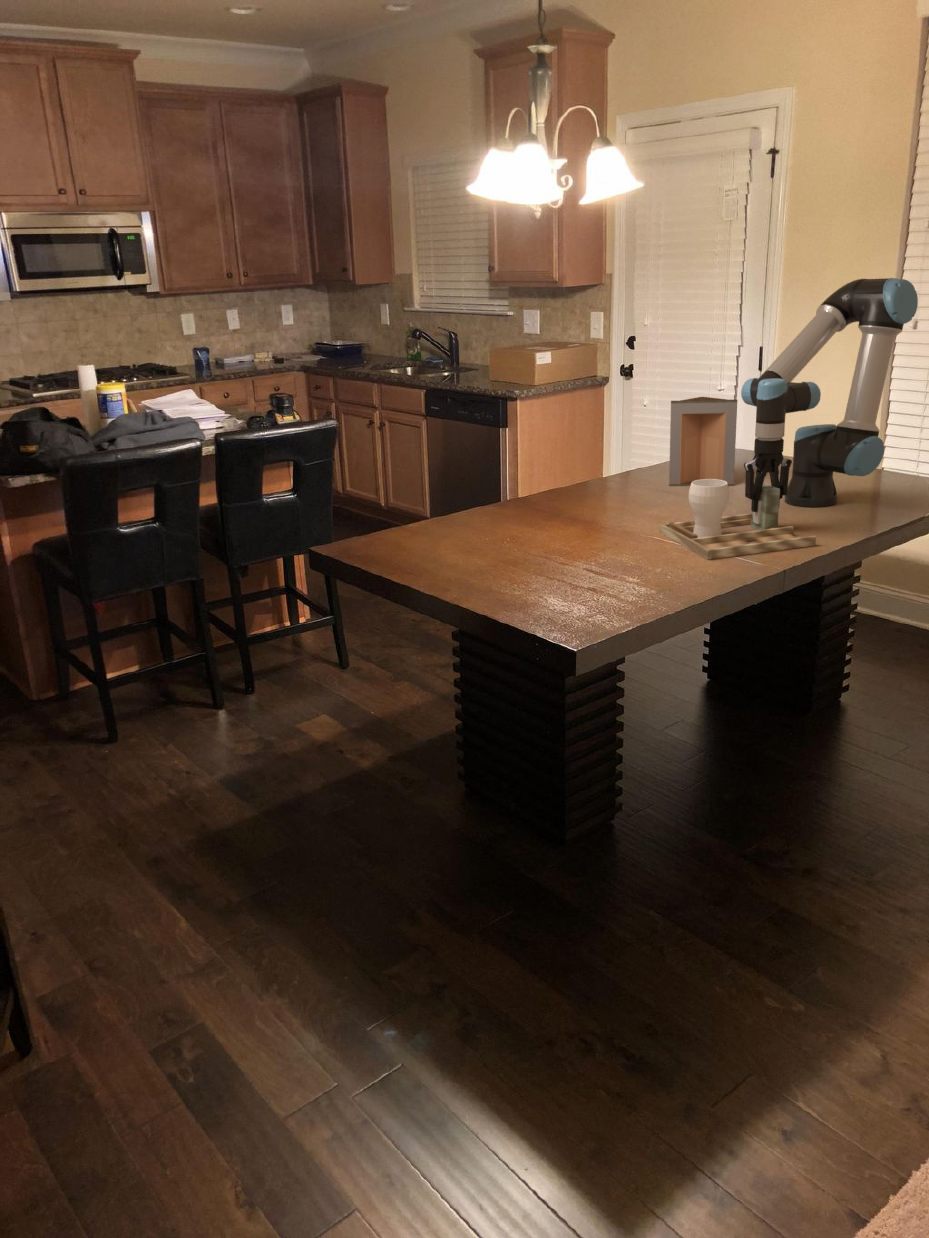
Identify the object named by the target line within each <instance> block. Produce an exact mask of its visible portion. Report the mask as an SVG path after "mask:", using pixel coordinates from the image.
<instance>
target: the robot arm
mask: <svg viewBox="0 0 929 1238" xmlns="http://www.w3.org/2000/svg"><path fill="white" fill-rule="evenodd" d="M918 302H919V298H918V293H917V290H916V288H915V286H914V284H913V283H912V282H911V281H909V280H907V279H904V278H896V277H894V278H893V277H890V278H858V279H855V280H852V281H850V282H847V283H846V284H844V285H842V286H841V287H839V288H838V289H836V290H835V291H834V292H832V294H830V295H829V296H828V297H827V298H826V299H825V300H824V301H823V302H822V303H821V304H820V305H819V306H818V307H817V308H816V313H815V316H814V317H813V318H812V319H811V320H810V321H809V322H808V323H807V325H805V327H804V328H803V329H802V330H801V331H800V332H799V333H798V335H796V337H795V338H794V339H793V340H792V341H791V342H790V343H789V344H788V345H787V346H786V348H785V349H784V350H783V351H782V352H781V353H780V354H779V355H778V356H777V357H776V358H775V360H774V361H772V363H771V364H770V365H769V366H768V367H767V368H766V369H765V370H764V372H763V373H762V374H761V375H760V376H759V377H754V378H749V379H747V380H746V381H744V383H743V385H742V387H741V390H740V395H741V399H742V401H743V402H744V403H745V404H746V405H749V406H753V407H755V408H756V413H755V415H756V417H755V429H754V430H755V431H754V434H755V435H754V436H755V437H756V438H755V439H754V449H753V451H754V457H753V458H752V460H751V461H749V462H744V463H743V468H744V470H745V482H744V483H745V487H744V489H745V491H744V497H745V498H747V499H748V500H751V505H750V506H751V508H750V510H751V512H752V511H753V522H754V523H757V524H761V506H762V501H761V500H759V498H760V494H761V490H762V486H763V484H764V482H765V478H766V476H767V475H768V474H769V479H770V485H771V486H774V487H776V488H779V489H780V497H779V507H781V506H780V502H781V499H783V496H784V502H785V503H786V504H788V505H793V506H797V507H806V508H807V507H808V508H818V507H819V508H820V507H821V508H822V507H829V506H833V505H835V504H837V502H838V492H837V490H836V489H837V488H836V484H835V480H834V477H833V476H834V473H838V474H844V475H848V476H852V477H853V476H854V477H866V476H868V475H870V474H872V473H874V471H875V470H877V468H879V466H880V464H881V462H882V460H883V458H884V455H885V444H884V441H883V439H881V437H879V435H880V428H879V427H878V426H877V424H876V423H877V418H878V414H879V410H880V405H881V400H882V398H883V397H882V396H883V391H884V386H885V383H886V379H887V378H886V377H887V374H888V371H889V370H888V369H889V365H890V361H891V356H892V353H893V347H894V343H895V338H896V337H897V336H898V335H899V334H901V333H902V332H903V328H904V326H905V324H908V323H909V322H911V321H912V320H913V318H914V317H915V315H916V313H917V310H918V306H919V305H918V304H919V303H918ZM853 323H858V325H857V326H858V327H857V328H858V329H859V330H860V332H861V339H860V343H859V348H858V351H857V352H858V353H857V356H856V357H857V358H856V362H855V366H854V371H853V375H852V381H851V385H850V389H849V393H848V394H849V395H848V398H847V403H846V409H845V413H844V417H843V420H842V421H840V422H839V423H837V424H833V423H829V424H827V423H826V424H823V423H822V424H813V425H806V426H801V427H799V428H797V429H796V431H795V434H794V441H793V456H792V460H791V459H789V458H786V457H784V455H783V452H784V444H785V440H784V437H785V432H786V431H785V428H786V427H785V426H786V414H791V413H796V412H802V411H803V412H806V411H809V410H811V409H814V408H817V406H818V405H819V403H820V401H821V395H822V394H821V393H822V392H821V389H820V387H819V385H818V384H816V383H815V382H813V381H801V382H793V381H794V380H795V378H796V377H797V376H798V375H799V374H800V373H801V371H803V370H804V368H805V367H806V366H807V365H808V364H809V363H810V361H811V360H812V359H813V358H815V356H817V354H818V353H819V352H820V351H821V350H822V349H823V347H825V345H826V344H827V343H828V342H829V341H830V339H832V337H833V336H834V335H835V334H836V333H839V332H840V333H841V332H842V331H843V330H844V329H845V328H846V327H847V326H848V325H850V324H853ZM791 466H792V471H791V472H792V473H791V474H792V475H791V477H790V481H789V476H790V468H791ZM755 467H756V471H755ZM779 467H780V470H779ZM767 473H768V474H767Z"/></svg>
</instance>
